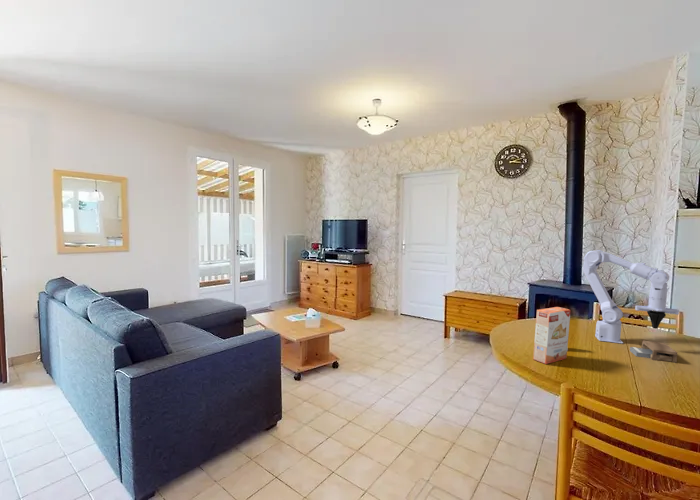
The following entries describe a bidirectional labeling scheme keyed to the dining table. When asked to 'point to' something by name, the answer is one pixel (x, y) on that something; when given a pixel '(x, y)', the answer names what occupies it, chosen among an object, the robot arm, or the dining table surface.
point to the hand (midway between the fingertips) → (654, 328)
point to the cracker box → (551, 334)
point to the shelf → (660, 351)
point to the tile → (643, 352)
